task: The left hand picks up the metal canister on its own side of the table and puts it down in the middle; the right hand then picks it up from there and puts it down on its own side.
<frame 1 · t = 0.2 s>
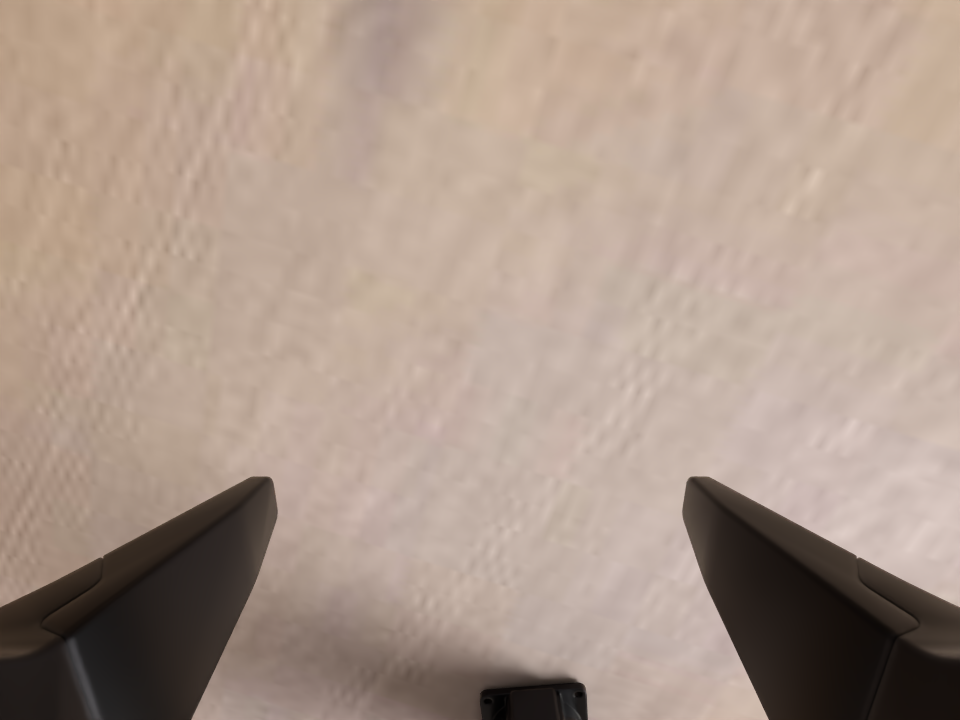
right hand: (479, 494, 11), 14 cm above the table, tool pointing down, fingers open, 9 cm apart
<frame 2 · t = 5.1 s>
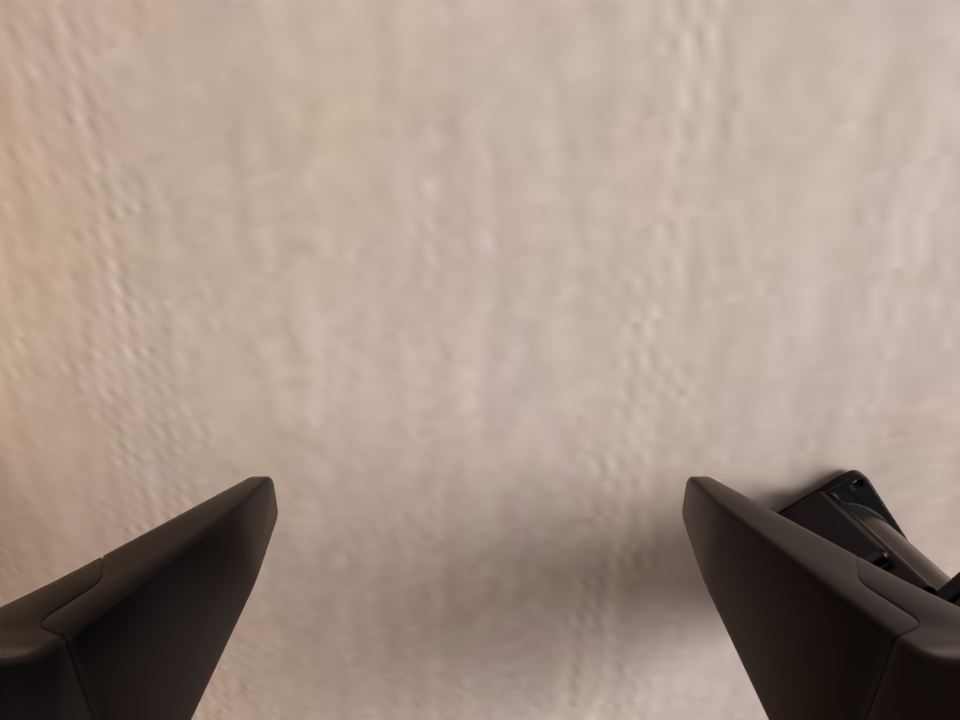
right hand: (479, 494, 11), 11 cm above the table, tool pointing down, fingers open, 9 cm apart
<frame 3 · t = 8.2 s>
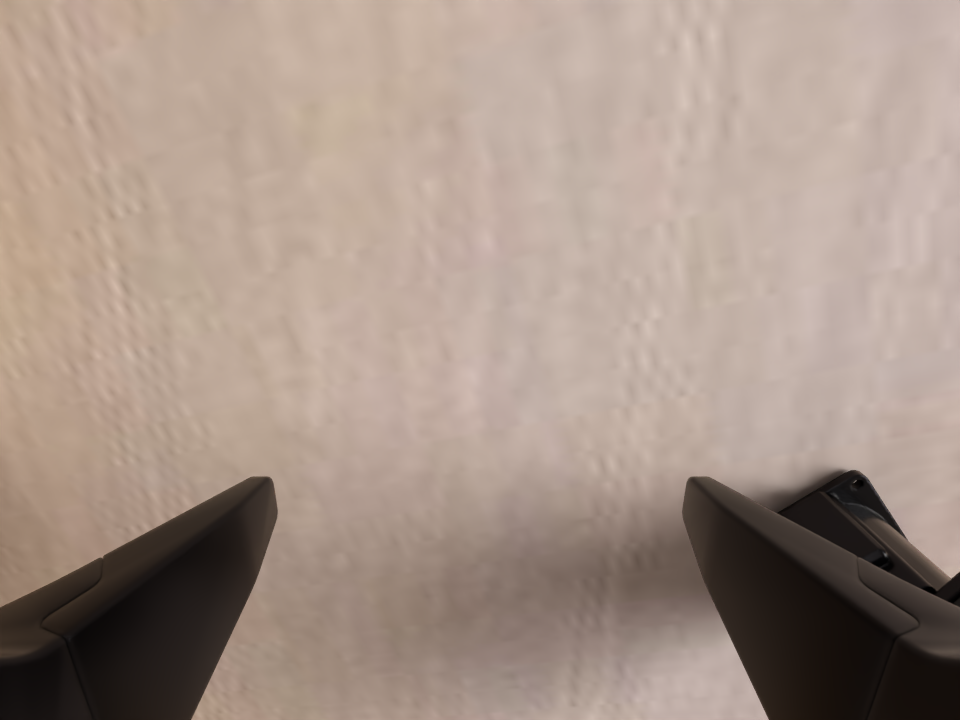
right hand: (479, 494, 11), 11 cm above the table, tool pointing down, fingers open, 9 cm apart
when the left hand's fingers open (1 cm above the table, at t = 11.3 s): canister stays where it is, on the table.
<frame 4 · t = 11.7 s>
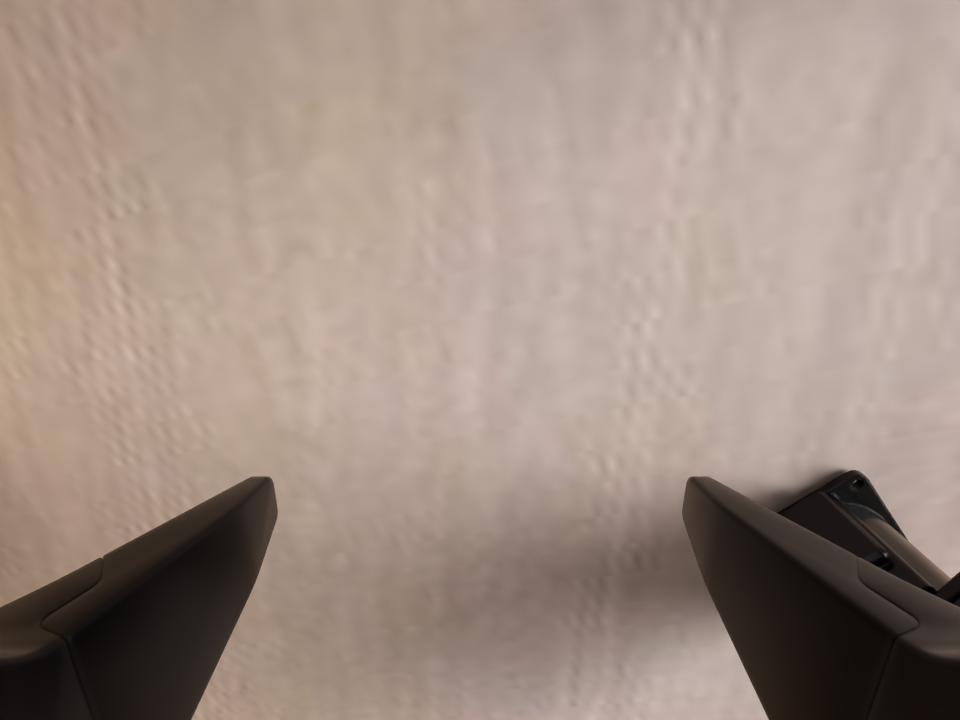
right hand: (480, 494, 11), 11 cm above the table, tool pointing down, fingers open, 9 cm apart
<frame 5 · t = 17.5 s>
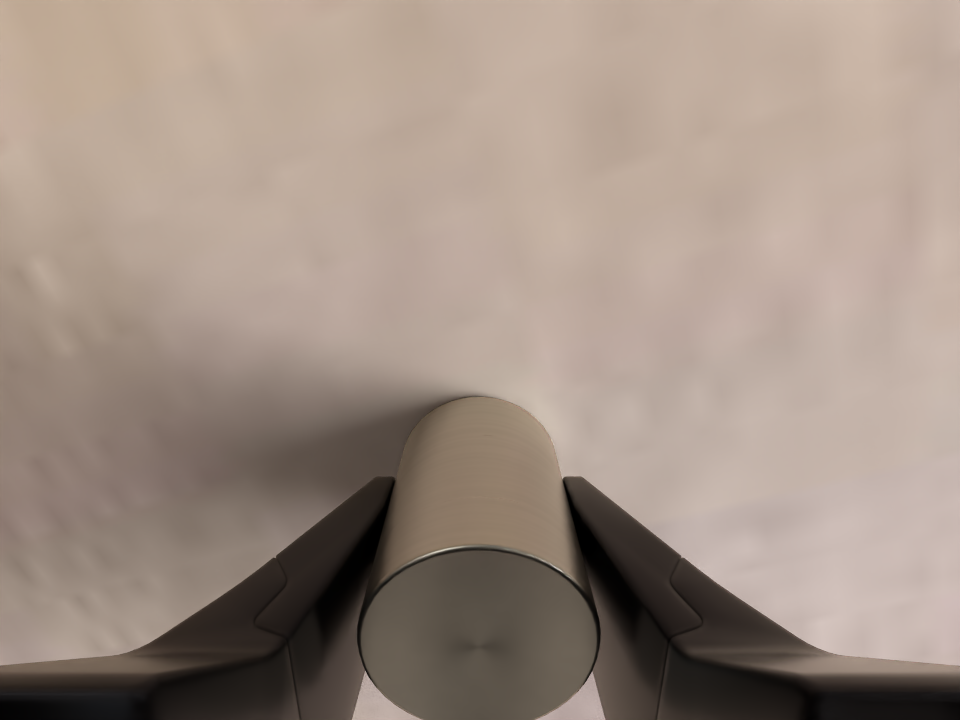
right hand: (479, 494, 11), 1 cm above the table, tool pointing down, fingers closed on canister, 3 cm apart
canister: (479, 465, 12), on the table, touching right hand
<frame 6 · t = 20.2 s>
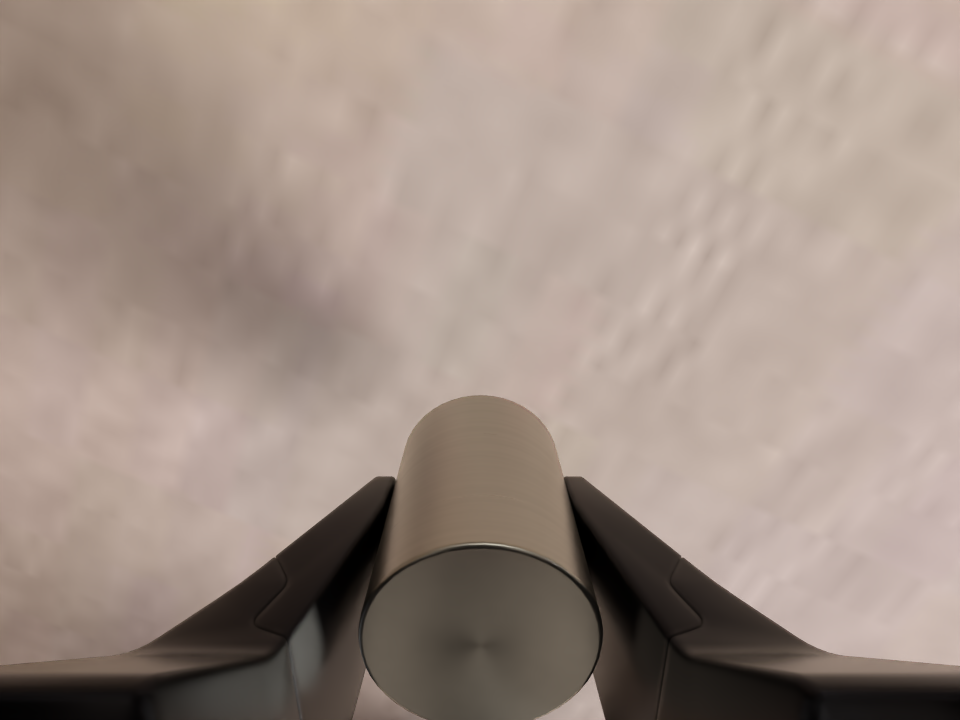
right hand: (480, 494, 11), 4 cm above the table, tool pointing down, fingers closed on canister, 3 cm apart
canister: (480, 464, 12), point 3 cm above the table, touching right hand
when the right hand's fingers open (2 cm above the table, at t = 23.2 s): canister stays where it is, on the table.
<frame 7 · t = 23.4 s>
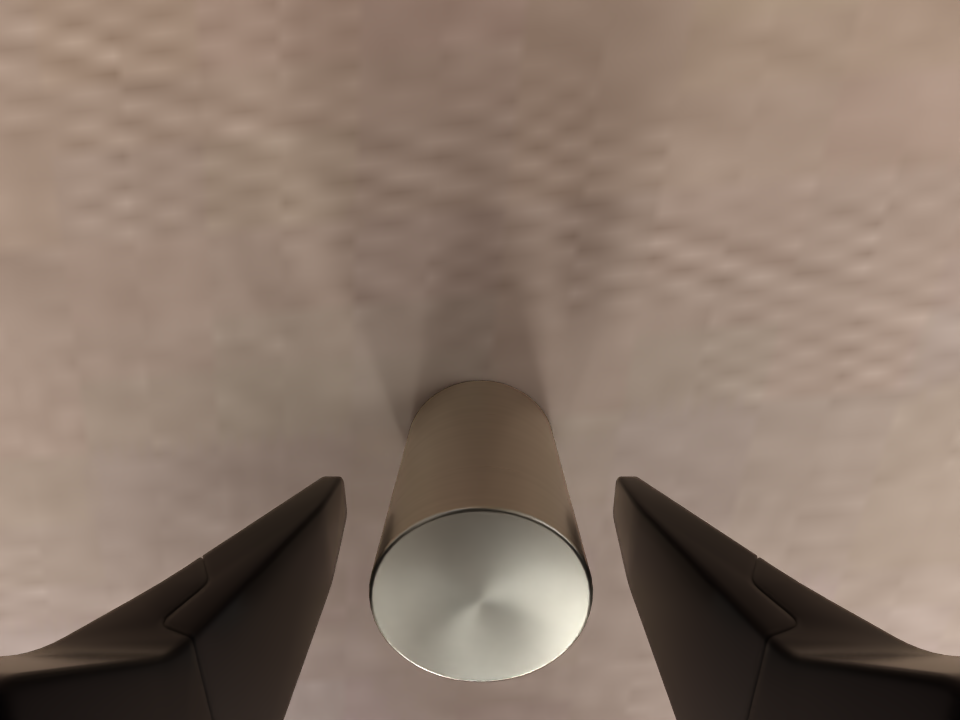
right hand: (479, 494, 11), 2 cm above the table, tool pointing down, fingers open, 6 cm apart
canister: (480, 446, 13), on the table
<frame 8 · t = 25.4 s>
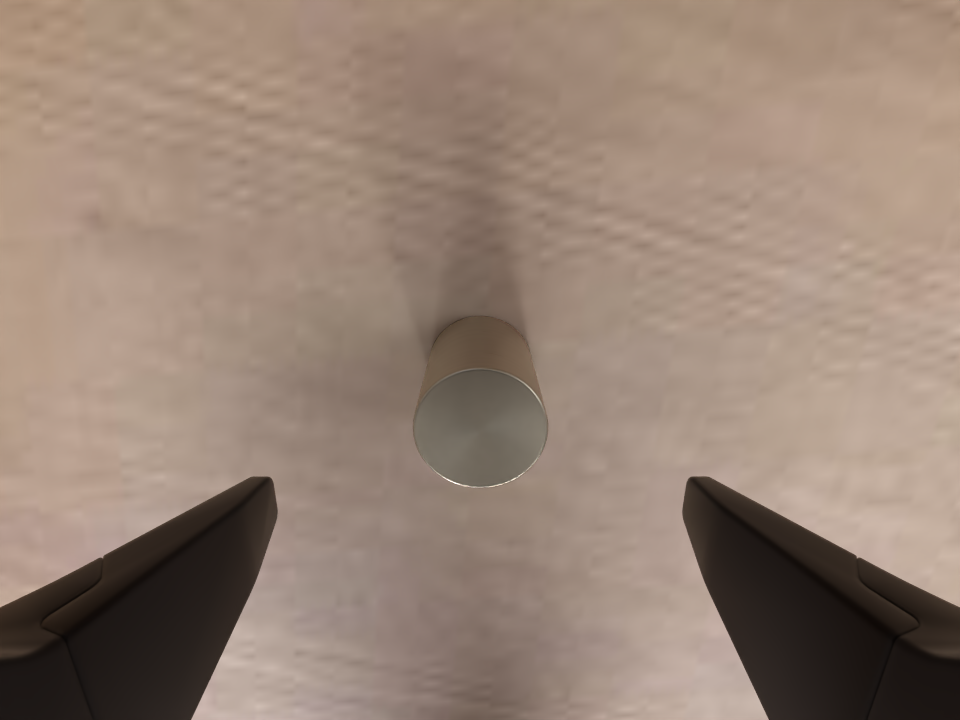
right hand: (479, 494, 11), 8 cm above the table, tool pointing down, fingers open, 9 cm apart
canister: (480, 364, 19), on the table
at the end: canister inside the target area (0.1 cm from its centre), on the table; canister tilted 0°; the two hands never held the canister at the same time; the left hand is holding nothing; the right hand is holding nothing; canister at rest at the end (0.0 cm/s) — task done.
